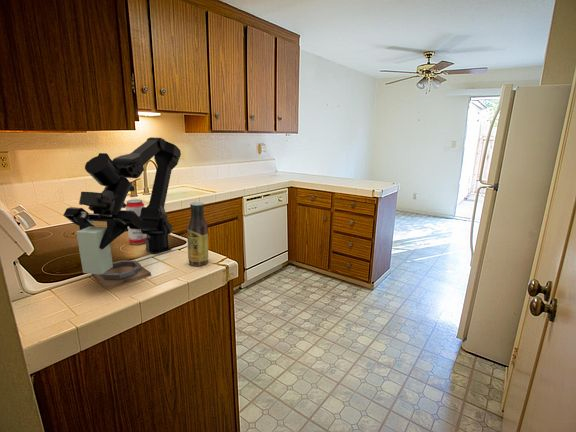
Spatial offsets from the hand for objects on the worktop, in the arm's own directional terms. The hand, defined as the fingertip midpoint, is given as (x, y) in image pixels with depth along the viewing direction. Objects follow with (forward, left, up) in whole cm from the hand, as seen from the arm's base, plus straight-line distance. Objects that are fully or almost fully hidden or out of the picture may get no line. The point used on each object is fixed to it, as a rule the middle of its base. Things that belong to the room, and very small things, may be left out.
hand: (90, 248), depth 78 cm
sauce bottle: (-29, +1, -12) cm, 32 cm away
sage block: (-1, -1, -7) cm, 7 cm away
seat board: (-8, -6, -12) cm, 16 cm away
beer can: (-23, -31, -12) cm, 40 cm away
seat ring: (-8, -6, -12) cm, 16 cm away
